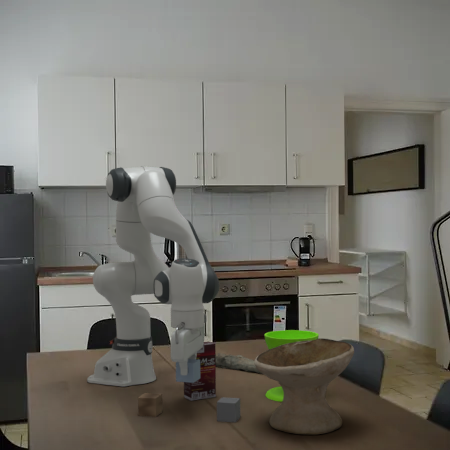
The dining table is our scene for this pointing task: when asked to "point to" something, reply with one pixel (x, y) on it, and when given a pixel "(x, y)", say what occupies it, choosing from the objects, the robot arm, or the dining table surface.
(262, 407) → the dining table surface
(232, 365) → the long grey stone
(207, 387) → the supplement box
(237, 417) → the grey block
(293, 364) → the bowl
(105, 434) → the dining table surface
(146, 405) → the walnut block
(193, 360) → the slate blue block
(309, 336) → the wineglass
